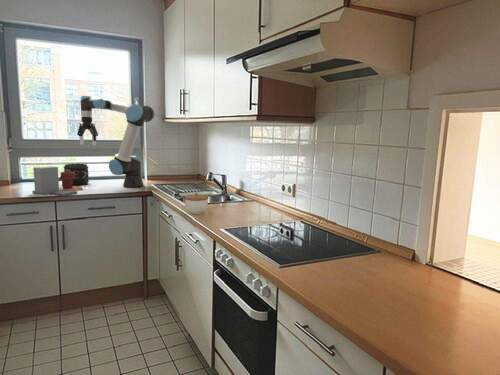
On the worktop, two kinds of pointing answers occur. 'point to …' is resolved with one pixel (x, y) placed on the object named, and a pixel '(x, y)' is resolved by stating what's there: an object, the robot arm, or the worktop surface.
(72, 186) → the terracotta pad
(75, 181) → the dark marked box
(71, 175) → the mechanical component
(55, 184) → the grey unit
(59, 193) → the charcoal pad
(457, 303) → the worktop surface
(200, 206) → the lidded bowl
